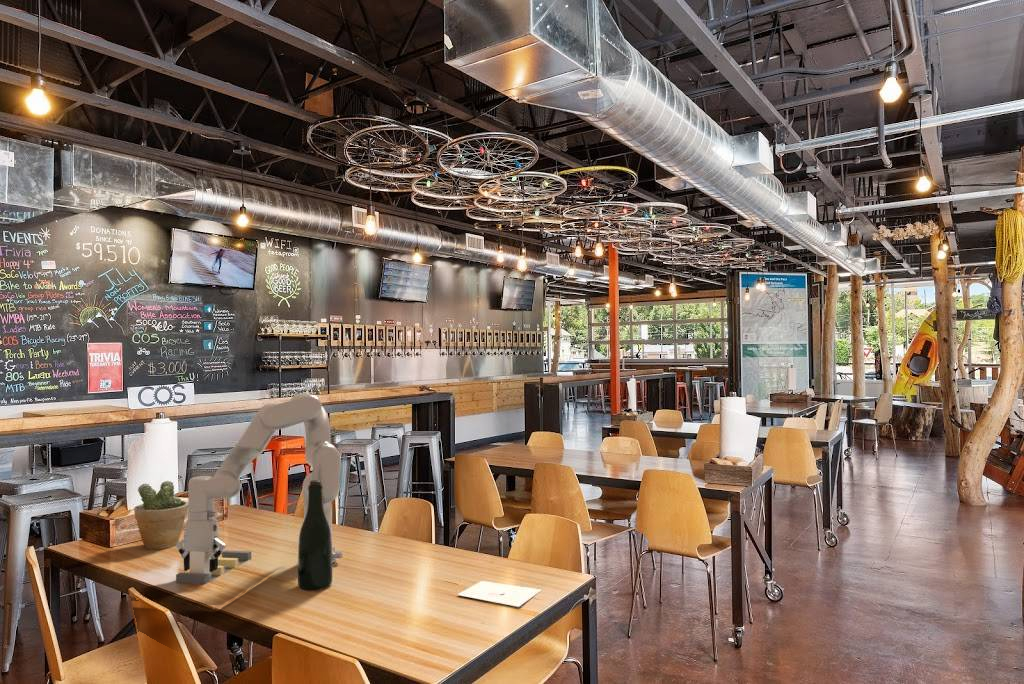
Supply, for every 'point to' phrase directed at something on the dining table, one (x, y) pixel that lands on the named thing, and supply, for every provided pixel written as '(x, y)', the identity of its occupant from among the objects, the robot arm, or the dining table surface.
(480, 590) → the paper sheet
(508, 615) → the dining table surface
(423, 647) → the dining table surface
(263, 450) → the robot arm
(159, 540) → the potted plant
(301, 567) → the beer bottle
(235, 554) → the notch rail
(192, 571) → the frame block
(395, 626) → the dining table surface
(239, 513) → the dining table surface
